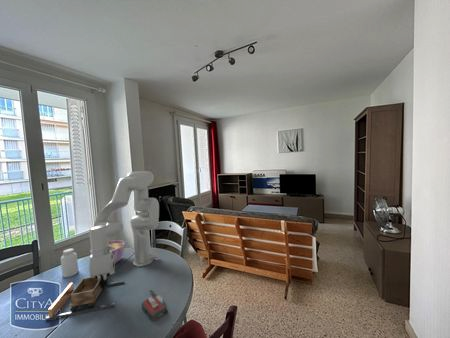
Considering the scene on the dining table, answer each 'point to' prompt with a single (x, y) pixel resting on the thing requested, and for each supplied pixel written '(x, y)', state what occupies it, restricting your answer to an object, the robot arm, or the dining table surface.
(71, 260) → the pill bottle
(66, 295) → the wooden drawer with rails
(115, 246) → the bowl of food
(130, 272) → the dining table surface
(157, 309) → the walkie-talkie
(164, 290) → the dining table surface
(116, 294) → the dining table surface
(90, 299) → the small wooden crate
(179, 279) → the dining table surface
